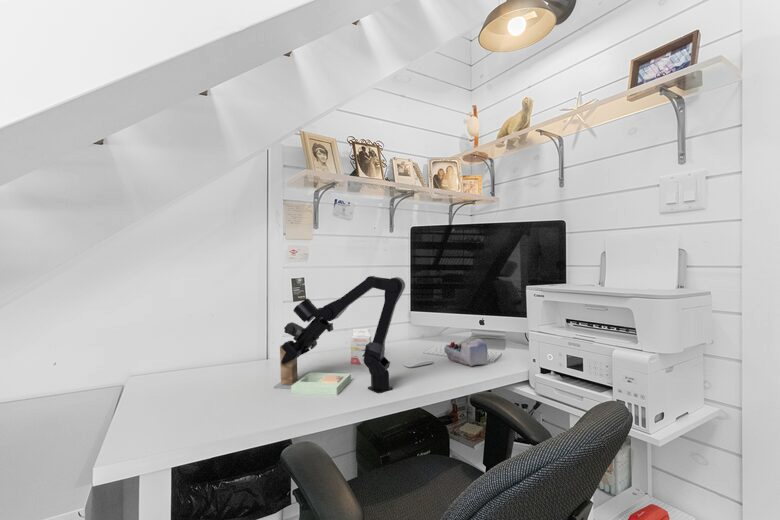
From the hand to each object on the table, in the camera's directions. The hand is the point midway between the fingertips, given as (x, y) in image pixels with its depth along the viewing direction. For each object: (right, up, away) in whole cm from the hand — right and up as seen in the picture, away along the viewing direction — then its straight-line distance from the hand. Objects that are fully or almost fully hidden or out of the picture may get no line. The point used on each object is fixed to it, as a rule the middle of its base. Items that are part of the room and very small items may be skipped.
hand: (285, 361), depth 137 cm
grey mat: (+2, -9, 0) cm, 9 cm away
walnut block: (+2, -8, 0) cm, 8 cm away
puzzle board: (+14, -8, -3) cm, 16 cm away
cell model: (+72, -8, +26) cm, 77 cm away
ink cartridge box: (+25, -9, +29) cm, 39 cm away
